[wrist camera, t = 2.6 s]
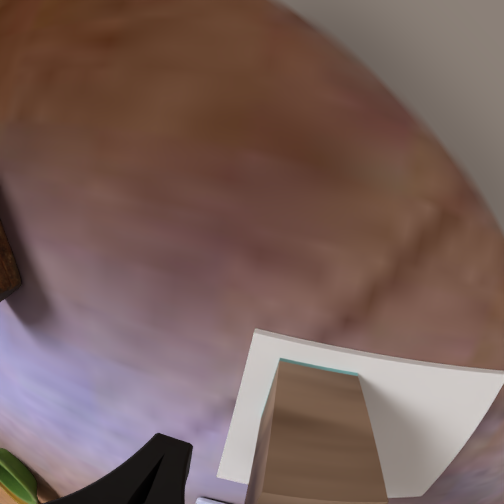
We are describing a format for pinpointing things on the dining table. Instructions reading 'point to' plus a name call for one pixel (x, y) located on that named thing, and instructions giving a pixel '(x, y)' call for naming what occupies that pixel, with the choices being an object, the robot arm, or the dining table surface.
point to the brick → (7, 268)
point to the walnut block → (315, 441)
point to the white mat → (373, 408)
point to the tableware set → (17, 479)
